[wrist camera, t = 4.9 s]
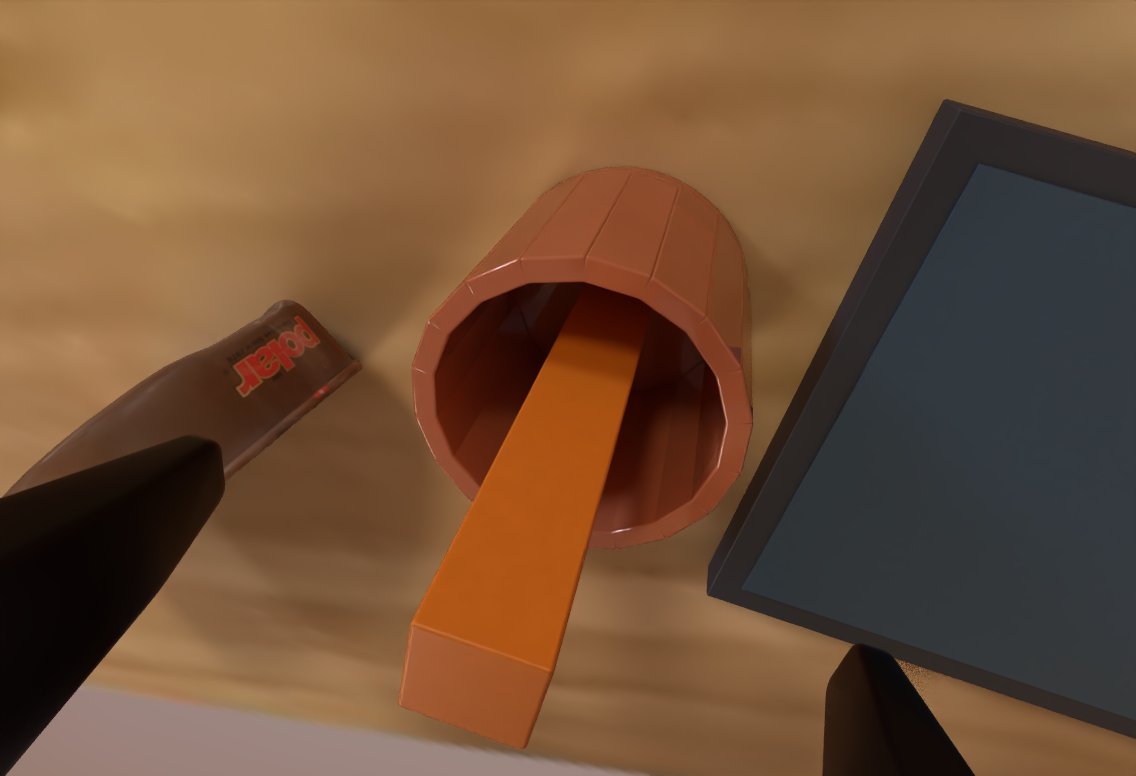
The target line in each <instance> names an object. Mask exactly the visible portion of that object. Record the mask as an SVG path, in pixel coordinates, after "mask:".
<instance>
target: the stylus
mask: <svg viewBox="0 0 1136 776" xmlns="http://www.w3.org/2000/svg"><path fill="white" fill-rule="evenodd" d="M652 310H653V308H651V307H650V306H649V305H647V304H646V303H644V302H643V301H642V300H640V299H638V298H635V297H631V296H628V295H625V294H622V293H618V292H615V291H612V290H609V289H606V288H602V287H599V286H596V285H593V284H589V283H585V284H584V286H583V288H582V290H581V292H580V294H579V296H578V298H577V300H576V302H575V304H574V306H573V308H572V310H571V312H570V314H569V316H568V318H567V320H566V321H565V323H564V325H563V327H562V329H561V331H560V333H559V335H558V337H557V339H556V341H555V343H554V345H553V347H552V349H551V351H550V353H549V355H548V357H547V359H546V360H545V362H544V364H543V366H542V368H541V370H540V372H539V374H538V376H537V378H536V380H535V382H534V384H533V386H532V388H531V390H530V392H529V394H528V396H527V397H526V399H525V401H524V403H523V405H522V407H521V409H520V411H519V413H518V415H517V417H516V419H515V421H514V423H513V425H512V427H511V429H510V431H509V433H508V434H507V436H506V438H505V440H504V442H503V444H502V446H501V448H500V450H499V452H498V454H497V456H496V458H495V460H494V462H493V464H492V466H491V468H490V470H489V471H488V473H487V475H486V477H485V479H484V481H483V483H482V485H481V487H480V489H479V491H478V493H477V495H476V497H475V499H474V501H473V503H472V505H471V507H470V509H469V510H468V512H467V514H466V516H465V518H464V520H463V522H462V524H461V526H460V528H459V530H458V532H457V534H456V536H455V538H454V540H453V542H452V544H451V546H450V547H449V549H448V551H447V553H446V555H445V557H444V559H443V561H442V563H441V565H440V567H439V569H438V571H437V573H436V575H435V577H434V579H433V581H432V583H431V584H430V586H429V588H428V590H427V592H426V594H425V596H424V598H423V600H422V602H421V604H420V606H419V608H418V610H417V612H416V614H415V616H414V618H413V620H412V621H411V626H410V632H409V638H408V645H407V651H406V657H405V663H404V670H403V676H402V682H401V688H400V695H399V703H398V704H399V705H400V706H401V707H403V708H406V709H409V710H411V711H414V712H417V713H420V714H423V715H426V716H428V717H431V718H434V719H437V720H440V721H442V722H445V723H448V724H451V725H454V726H457V727H459V728H462V729H465V730H468V731H471V732H473V733H476V734H479V735H482V736H485V737H487V738H490V739H493V740H496V741H499V742H502V743H504V744H507V745H510V746H513V747H516V748H518V749H525V748H526V746H527V744H528V741H529V739H530V736H531V733H532V730H533V728H534V725H535V722H536V720H537V717H538V714H539V711H540V709H541V706H542V703H543V700H544V698H545V695H546V692H547V690H548V687H549V684H550V681H551V679H552V676H553V673H554V670H555V666H556V663H557V659H558V655H559V652H560V648H561V644H562V641H563V637H564V633H565V630H566V626H567V622H568V618H569V615H570V611H571V607H572V604H573V600H574V596H575V593H576V589H577V585H578V582H579V578H580V574H581V571H582V567H583V563H584V560H585V556H586V552H587V549H588V545H589V541H590V538H591V534H592V530H593V527H594V523H595V519H596V516H597V512H598V508H599V505H600V501H601V497H602V494H603V490H604V486H605V482H606V479H607V475H608V471H609V468H610V464H611V460H612V457H613V453H614V449H615V446H616V442H617V438H618V435H619V431H620V427H621V424H622V420H623V416H624V413H625V409H626V405H627V402H628V398H629V394H630V391H631V387H632V383H633V380H634V376H635V372H636V369H637V365H638V361H639V358H640V354H641V350H642V347H643V343H644V339H645V335H646V332H647V328H648V324H649V321H650V317H651V313H652Z"/></svg>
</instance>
